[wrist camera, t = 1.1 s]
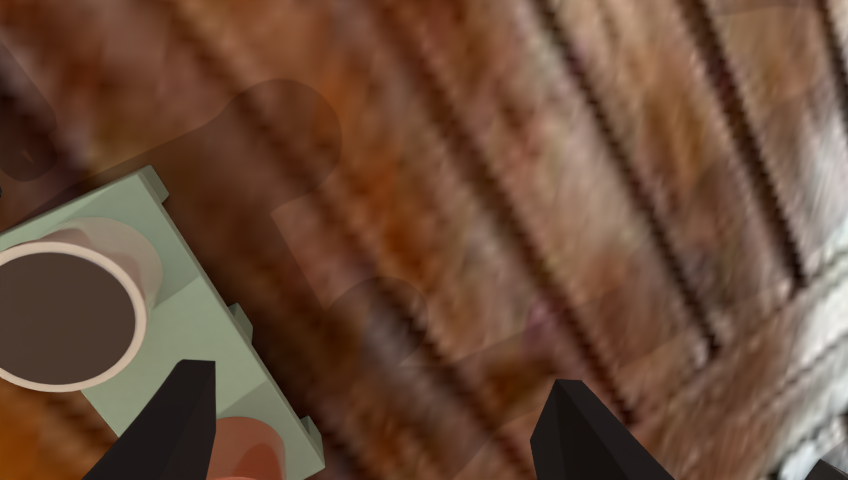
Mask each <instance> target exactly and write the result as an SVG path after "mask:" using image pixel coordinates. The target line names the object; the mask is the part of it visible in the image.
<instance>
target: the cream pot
mask: <svg viewBox="0 0 848 480" xmlns="http://www.w3.org/2000/svg"><path fill="white" fill-rule="evenodd" d="M163 277H164V276H163V267H162V263H161V260H160V258H159V255H158V253H157V252H156V250H155V248H154V247H153V246H152V244H151V243H150V242H149V241H148V240H147V239H146V238H145V237H144V236H143V235H142V234H141V233H140V232H138V231H137V230H135V229H134V228H132V227H130V226H129V225H126V224H124V223H122V222H119V221H116V220H113V219H109V218H104V217H79V218H74V219H70V220H67V221H64V222H62V223H59V224H57V225H56V226H54V227H52V228H50V229H49V230H47V231H46V232H44V233H43V234H41V235H40V236H38V237H37V238H35V239H34V240H30V241H26V242H22V243H19V244H16V245H14V246H11V247H9V248H7V249H5V250H3V251H1V252H0V377H1V378H3V379H5V380H7V381H9V382H11V383H14V384H16V385H19V386H22V387H25V388H29V389H33V390H38V391H46V392H69V391H76V390H82V389H86V388H89V387H93V386H96V385H98V384H100V383H103V382H105V381H107V380H109V379H110V378H112V377H114V376H115V375H117V374H118V373H119V372H121V371H122V370H123V369H124V368H125V367H126V366H128V365H129V364H130V363H131V361H132V360H133V359H134V357H135V356H136V355H137V353H138V351H139V350H140V348H141V346H142V344H143V342H144V339H145V337H146V334H147V330H148V326H149V315H150V313H151V311H152V309H153V307H154V306H155V304H156V302H157V300H158V298H159V296H160V293H161V291H162V286H163Z"/></svg>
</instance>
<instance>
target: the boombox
mask: <svg viewBox="0 0 848 480" xmlns="http://www.w3.org/2000/svg"><path fill="white" fill-rule="evenodd" d="M805 480H848V474H846V473H845V472H843V471H841V470H839V469H837V468H836V467H834V466H832V465H830V464H828V463H826V462H825V461H823V460H821V459H820V460H819V462H818V463H817V464H816V466H815V467H814V469H813V470H812V471H811V473H810V474H809V475H808V477H807V478H806V479H805Z"/></svg>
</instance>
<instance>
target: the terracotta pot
mask: <svg viewBox="0 0 848 480" xmlns="http://www.w3.org/2000/svg"><path fill="white" fill-rule="evenodd" d="M206 480H287V467H286V449H285V445H284V443H283V440H282V439H281V437H280V436H279V434H278V433H277V432H276V431H275V430H274V429H273V428H272V427H270V426H269V425H268V424H266V423H264V422H262V421H260V420H257V419H254V418H249V417H226V418H222V419H218V420H216V435H215V440H214V444H213V449H212V454H211V459H210V464H209V469H208V473H207V478H206Z"/></svg>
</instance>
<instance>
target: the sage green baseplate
mask: <svg viewBox="0 0 848 480" xmlns="http://www.w3.org/2000/svg"><path fill="white" fill-rule="evenodd" d="M168 196H169V193H168V191H167V189H166V188H165V186H164V185H163V183H162V181H161V180H160V178H159V177H158V175H157V174H156V172H155V170H154V169H153V167H152V166H151V165H147V166H145V167H142V168H140V169H138V170H136V171H134V172H132V173H129V174H127V175H125V176H123V177H121V178H119V179H116V180H114V181H112V182H110V183H108V184H105V185H103V186H101V187H99V188H97V189H95V190H92V191H90V192H88V193H86V194H84V195H81V196H79V197H77V198H75V199H73V200H71V201H68V202H66V203H64V204H62V205H60V206H57V207H55V208H53V209H51V210H49V211H47V212H44V213H42V214H40V215H38V216H36V217H34V218H31V219H29V220H27V221H25V222H23V223H20V224H18V225H16V226H14V227H12V228H10V229H7V230H5V231H3V232H1V233H0V252H1V251H3V250H5V249H7V248H9V247H11V246H14V245H16V244H19V243H22V242H26V241H30V240H34V239H35V238H37V237H38V236H40V235H41V234H43V233H44V232H46V231H47V230H49V229H50V228H52V227H54V226H56V225H57V224H59V223H62V222H64V221H67V220H70V219H74V218H79V217H104V218H109V219H113V220H116V221H119V222H122V223H124V224H126V225H129V226H130V227H132V228H134V229H135V230H137V231H138V232H140V233H141V234H142V235H143V236H144V237H145V238H146V239H147V240H148V241H149V242H150V243H151V244H152V246H153V247H154V248H155V250H156V252H157V253H158V255H159V258H160V260H161V263H162V267H163V276H164V277H163V286H162V291H161V293H160V296H159V298H158V300H157V302H156V304H155V306H154V307H153V309H152V311H151V313H150V315H149V326H148V330H147V334H146V337H145V339H144V342H143V344H142V346H141V348H140V350H139V351H138V353H137V355H136V356H135V357H134V359H133V360H132V361H131V363H130V364H129V365H128V366H126V367H125V368H124V369H123V370H122V371H121V372H119V373H118V374H117V375H115V376H114V377H112V378H110V379H109V380H107V381H105V382H103V383H100V384H98V385H96V386H93V387H89V388H86V389H82V390H80V391H81V392H82V393H83V394H84V396H85V397H86V398H87V399H88V400H89V402H90V403H91V404H92V405H93V407H94V408H95V409H96V410H97V411H98V413H99V414H100V415H101V416H102V418H103V419H104V420H105V421H106V422H107V424H108V425H109V426H110V427H111V429H112V430H113V431H114V432H115V433H116V435H117V436H118V437H120V436H121V435H122V434H123V432H124V431H125V430H126V429H127V428H128V427H129V425H130V424H131V423H132V422H133V421H134V419H135V418H136V417H137V416H138V415H139V413H140V412H141V411H142V410H143V408H144V407H145V406H146V404H147V403H148V402H149V401H150V399H151V398H152V397H153V396H154V394H155V393H156V392H157V390H158V389H159V388H160V386H161V385H162V384H163V382H164V381H165V379H166V378H167V377H168V375H169V374H170V372H171V371H172V369H173V368H174V367H175V365H176V364H177V363H178V362H179V361H181V360H182V359H191V360H210V361H216V420H218V419H222V418H226V417H249V418H254V419H257V420H260V421H262V422H264V423H266V424H268V425H269V426H270V427H272V428H273V429H274V430H275V431H276V432H277V433H278V434H279V436H280V437H281V439H282V440H283V443H284V445H285V449H286V467H287V480H304V479H306V478H307V477H309V476H311V475H313V474H315V473H317V472H318V471H320V470H322V469H324V468H325V462H324V454H323V446H322V439H321V434H320V433H319V431H318V429H317V428H316V426H315V425H314V423H313V421H312V420H311V418H310V417H309V416H306V417H304V418H302V419H300V420H299V418H298V417H297V415H296V414H295V412H294V410H293V409H292V407H291V406H290V404H289V403H288V401H287V399H286V398H285V396H284V395H283V393H282V392H281V390H280V388H279V387H278V385H277V384H276V382H275V381H274V379H273V378H272V376H271V374H270V373H269V371H268V370H267V368H266V367H265V365H264V363H263V362H262V360H261V359H260V357H259V356H258V354H257V353H256V351H255V349H254V348H253V346H252V345H251V344H252V332H253V326H252V324H251V323H250V321H249V320H248V318H247V316H246V315H245V313H244V312H243V310H242V308H241V307H240V305H239V304H238V303H235V304H233V305H231V306H229V307H227V306H226V304H225V303H224V301H223V299H222V298H221V296H220V295H219V293H218V292H217V290H216V288H215V287H214V285H213V284H212V282H211V281H210V279H209V278H208V276H207V274H206V273H205V271H204V270H203V268H202V267H201V265H200V263H199V262H198V260H197V259H196V257H195V256H194V254H193V253H192V251H191V249H190V248H189V246H188V245H187V243H186V242H185V240H184V238H183V237H182V235H181V234H180V232H179V231H178V229H177V228H176V226H175V224H174V223H173V221H172V220H171V218H170V217H169V215H168V213H167V212H166V210H165V209H164V207H163V206H162V204H161V203H162V202H163V201H164V200H165V199H166V198H167V197H168Z"/></svg>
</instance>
